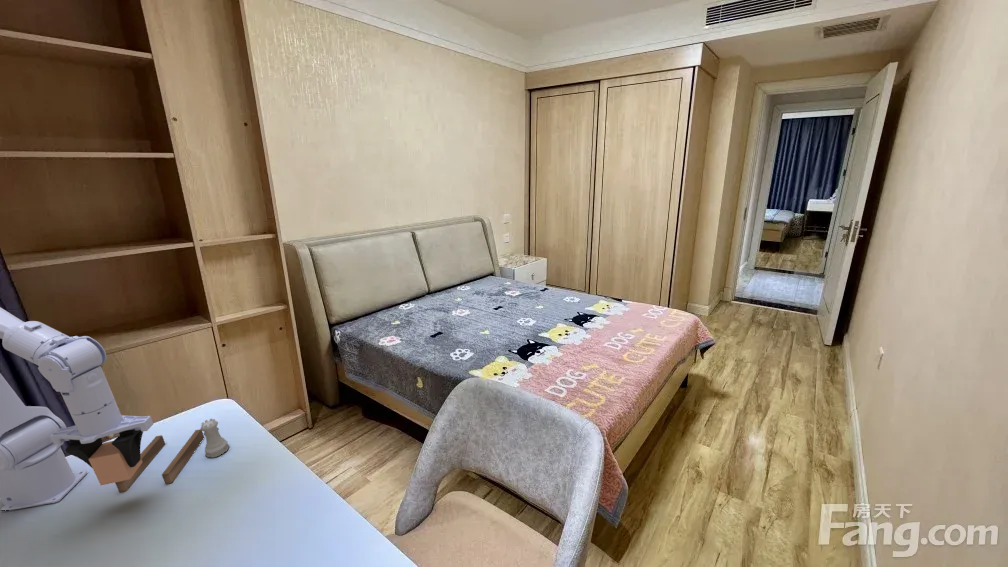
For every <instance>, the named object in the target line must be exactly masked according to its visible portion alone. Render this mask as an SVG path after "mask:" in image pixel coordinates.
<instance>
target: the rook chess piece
mask: <svg viewBox="0 0 1008 567" xmlns="http://www.w3.org/2000/svg"><path fill="white" fill-rule="evenodd" d="M218 425H219V421H216V419H215V418H209V420H208V419H206V420H204V422H202V423H201V426H200V428H199V430H202V432H203V435H204V437H205V440H206V441H205V442H206V444H205V448H204V452H205V456H206V457H208V458H210V459H211V458H212V459H213V458H218V457H220V456H222V455H224V454H225V453H226V452H227V450H229V446H230V444H228V441H227V440H226V439H225V438H224V437H223V436H222V435H221V434H220V431H219V430H220V428H219V427H218ZM225 451H226V452H225ZM224 452H225V453H224ZM223 453H224V454H223ZM221 454H222V455H221ZM217 456H218V457H217Z"/></svg>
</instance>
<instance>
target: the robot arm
mask: <svg viewBox="0 0 1008 567" xmlns="http://www.w3.org/2000/svg"><path fill="white" fill-rule="evenodd" d="M0 339H2V343H1V344H2V347H3V349H4V350H6V351H9V352H10V353H12V354H14V355H16V356H19V357H20V358H22V359H24V360H26V361H29V363H32V364H35V365H36V366H38V367H37V370H38V371H39V373H40V374H41V376H43V377H44V378H45V379H46V380H47V381H48V382H49V383H50V385H51V387H52V389H53V390H55V391H56V393H60V394H61V396H62V399H63V401H64V403H65V406H66V407H67V410H68V412H69V414H70V416H71V419H72V420H73V422H74V425H72V426H68V427H67V425H66V424H65V422H64V421H63V420H62V419H61V418H60V417H58V416H57V415H56V414H54V413H53V412H52V410H50V408H48V407H47V406H37V405H36V406H31V405H28V406H27V405H25V403H24V402H23V401H22V399H21V398H20V397H19V396H18V394H17V393H16V392H15V391H14V389H13V388H12V386H11V385H10V384H9V383H8V381H7V380H6V379H5V377H4V376H3V375H2V373H1V372H0V500H1V502H2V504H3V505H4V506H2V508H1V509H0V510H5V511H4V512H7V511H6V510H9V511H14V510H18V509H24V508H30V507H36V506H43V505H48V504H53V503H58V502H60V501H61V500H62V499H63V498H64V497H65V496H66V495H67V494H68V493H69V492H70V491H71V490H72V489H73V488H75V486H76V485H77V484H79V482H80V481H81V480H82V479H83V478H84V477H86V475H87V474H88V471H87V470H82V471H75V472H73V470H72V468H71V466H70V464H69V462H68V459H67V458H66V455H65V454H64V452H63V450H62V447H61V446H63V445H64V442H68V441H69V444H68V446H67V447H66V448H65V450H64V451H65V453H66V454H68V455H70V456H74V457H76V458H78V459H80V460H81V461H83V462H84V463H85V464H87V465H88V466H89V467H90V468H92V466H91V464H90V462H89V458H90V457H91V456H92V455H93V454H94V453H95V452H96V451H97V450H98V448H99V447H100V446H101V445H102V444H103V438H105V437H108V436H112V435H115V434H119V435H118V436H117V437H116V438H115V439H113V440H112V441H113V442H112V445H113V446H115V447H116V448H117V449H118V450H119V451H120V452H121V453H122V454H123V456H124V458H125V460H126V462H127V464H128V465H129V467H134V466H136V464H137V463H138V462H139V461H140V460H141V456H140V454H141V446H142V445H141V444H142V443H141V442H142V437H143V434H144V432H148V431H149V430H150V428H152V426H153V425H154V422H153V419H152V417H151V415H147V416H146V415H144V416H138V415H125V414H124V415H123V414H121V411H120V408H119V406H118V404H117V401H116V398H115V395H114V394H113V391H112V389H111V387H110V384H109V382H108V380H107V376H106V375H105V374H106V373H105V372H104V369H103V367H102V366H103V365H104V364H105V363H106V362H107V358H108V357H107V353H106V350H105V348H104V347H103V346H102V344H100V343H99V342H98V341H97V340H96V339H94V338H92V337H90V336H88V335H83V336H78V335H75V336H70V335H67V334H65V333H63V332H62V331H60V330H57V329H55V328H53V327H51V326H49V325H47V324H45V323H43V322H41V321H38V320H37V321H36V320H29V321H26V322H25V321H23V320H22V319H20V318H19V317H16V316H15V315H13V314H12V313H11V312H8V311H7V310H5V309H4V308H2V307H1V306H0Z"/></svg>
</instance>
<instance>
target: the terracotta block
mask: <svg viewBox="0 0 1008 567" xmlns="http://www.w3.org/2000/svg"><path fill="white" fill-rule="evenodd" d="M113 441H114V440H111V441H106V442H102V445H101V446H100V447H99V448H98V450H97V451H96V452H95V453H94V454H93V455H92V456H91V457H90V458H89V462H90V464H91V466H92V467H91V469H92V470H93V472H94V474H95V476H96V478H97V480H98V483H99V485H100V486H105V485H110V484H115V482H120V481H124V480H129V479H131V477H132V476H133V475H134V473H135V472H136V471H137V469H138V468H139V467H140V465H141V464H142V459H141V460H140V461H139V462H138V463H137V464H136V466H134V467H129V465H128V464H127V462H126V460H125V458H124V456H123V454H122V453H121V452H120V451H119V450H118V449H117V448H116V447H115V446H113V445H112V442H113Z"/></svg>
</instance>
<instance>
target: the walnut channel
mask: <svg viewBox="0 0 1008 567" xmlns="http://www.w3.org/2000/svg"><path fill="white" fill-rule="evenodd" d="M203 438H204V439H205V435H204V431H202V430H200V429H196V430H194V432H193V433H192V435H191V436H190V437H189V438H188V440H187V441H186V442H185V444H184V445H182V448H181V449H180V450H179V452H178V453H177V454H175V457H174V458H173V459H172V460H171V462H169V464H168V466H166V468H165V469H164V471H163V472H162V473H161V476H162V479H163V482H164V484H165V485H170V484H173V483H174V481H175V480H176V478H177V477H178V475H179V474H180V473H181V471H182V470H183V468H184V467H185V465H186V464H187V463H188V461H190V459H191V457H192V456H193V455H192V454H195V452H196V450H197V449H198V448H199V446H200V445H201V443H202V442H203V441H204V439H203ZM202 440H203V441H202ZM201 441H202V442H201ZM200 442H201V443H200ZM199 444H200V445H199ZM165 445H166V442H165V439H164V437H163V435H162V434H161V435H156V436H155V437H154V438H153V439H152V440H151V442H149V444H148V445H147V446H146V447H145V448H144V449H143V450H142V452H140V456H141V459H142V464H141V465H140V467H139V468H138V469H137V471H136V472H135V473H134V475H133V476H132V477H131V479H129V480H124V481H120V482H115V483H114V484H115V486H116V488H117V490H118V492H119V493H122V492H127V491H128V490H129V489H130V487H131V486H132V485H133V484H134V483H135V481H136V480H137V479H138V478H139V477H140V475H142V473H143V472H144V470H145V469H146V468H147V467H148V466H149V465H150V464H151V463H152V461H153V460H154V459H155V457H156V456H157V454H159V452H160V451H161V450H162V449H163V448H164V447H165ZM197 447H198V448H197ZM196 448H197V449H196ZM194 451H195V452H194Z"/></svg>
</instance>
